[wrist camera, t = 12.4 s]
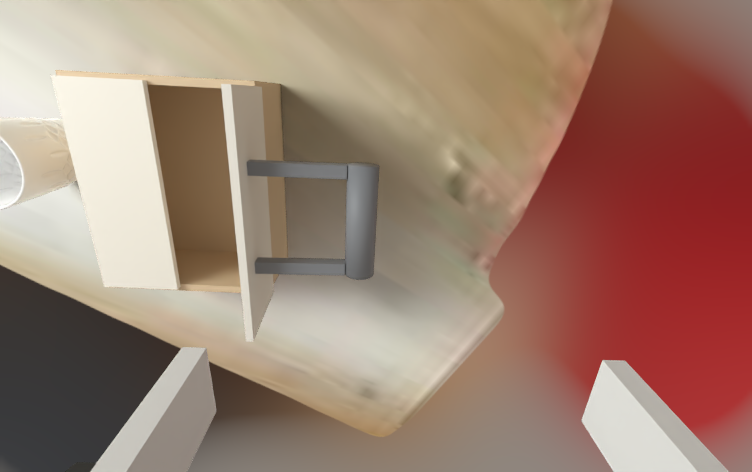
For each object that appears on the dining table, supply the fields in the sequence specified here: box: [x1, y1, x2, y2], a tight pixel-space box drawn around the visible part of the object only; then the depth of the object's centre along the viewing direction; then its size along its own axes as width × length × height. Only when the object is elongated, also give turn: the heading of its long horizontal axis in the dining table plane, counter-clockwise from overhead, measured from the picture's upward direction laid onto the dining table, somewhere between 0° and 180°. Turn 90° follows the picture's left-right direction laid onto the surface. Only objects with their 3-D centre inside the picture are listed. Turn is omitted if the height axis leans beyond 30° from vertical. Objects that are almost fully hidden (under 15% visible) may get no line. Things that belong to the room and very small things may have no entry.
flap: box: [221, 84, 379, 341], centre depth 30 cm, size 19×8×10 cm
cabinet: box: [51, 70, 288, 293], centre depth 37 cm, size 20×16×10 cm
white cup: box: [0, 117, 77, 210], centre depth 36 cm, size 8×8×10 cm
